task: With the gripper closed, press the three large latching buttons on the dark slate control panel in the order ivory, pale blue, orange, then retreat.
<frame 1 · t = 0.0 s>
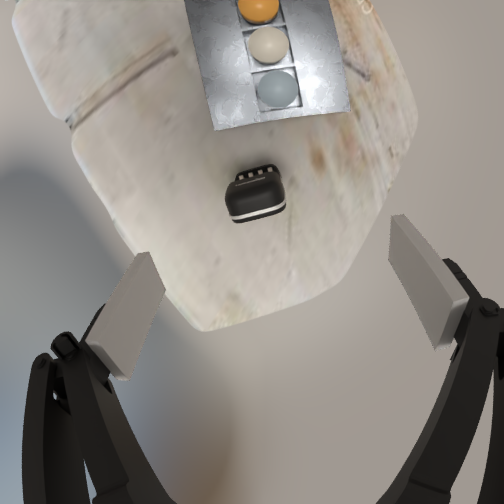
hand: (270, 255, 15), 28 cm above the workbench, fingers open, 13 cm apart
ivory button: (268, 45, 28), point 3 cm above the workbench, slide at 0.0 cm
battery charger: (257, 174, 41), on the workbench
pale blue button: (277, 89, 31), point 3 cm above the workbench, slide at 0.0 cm
orange button: (258, 6, 25), point 3 cm above the workbench, slide at 0.0 cm
panel: (268, 49, 31), on the workbench
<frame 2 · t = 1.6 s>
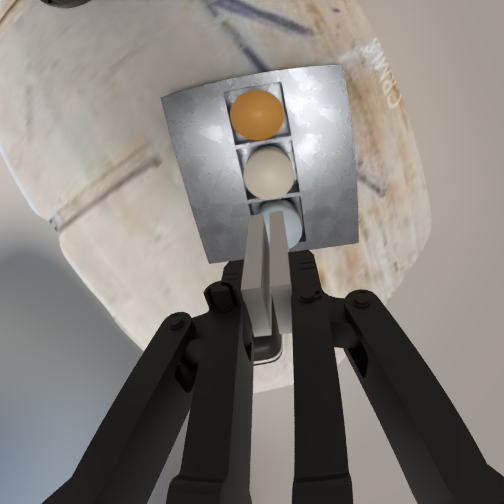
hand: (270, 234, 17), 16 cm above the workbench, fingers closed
ivory button: (268, 172, 28), point 4 cm above the workbench, slide at 0.0 cm
battery charger: (255, 292, 41), on the workbench
pale blue button: (278, 224, 31), point 4 cm above the workbench, slide at 0.0 cm
orange button: (257, 113, 24), point 4 cm above the workbench, slide at 0.0 cm
panel: (268, 163, 31), on the workbench
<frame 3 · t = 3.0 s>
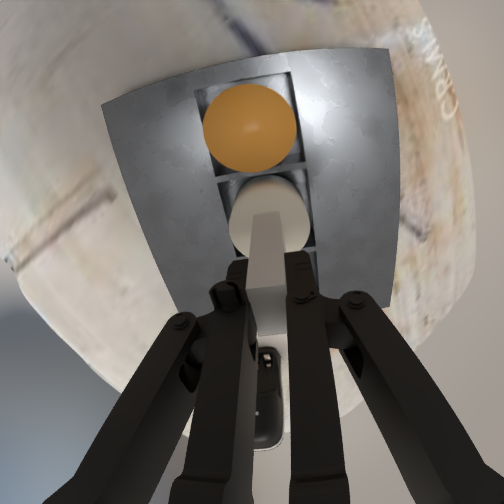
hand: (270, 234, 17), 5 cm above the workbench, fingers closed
ivory button: (269, 218, 18), point 3 cm above the workbench, slide at 0.1 cm, touching gripper
battery charger: (250, 353, 31), on the workbench
orange button: (250, 125, 15), point 4 cm above the workbench, slide at 0.0 cm
panel: (268, 198, 21), on the workbench
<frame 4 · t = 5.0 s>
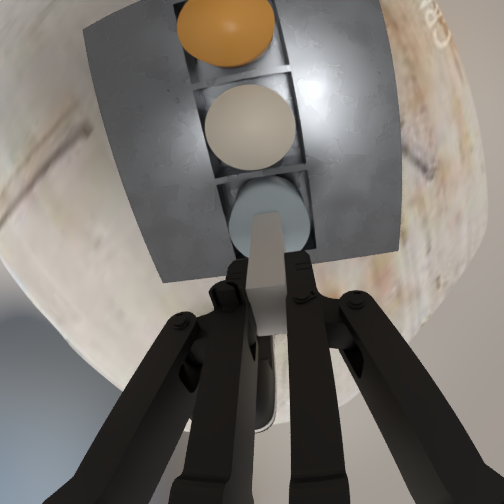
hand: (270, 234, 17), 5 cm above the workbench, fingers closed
ivory button: (251, 124, 15), point 3 cm above the workbench, slide at 0.8 cm
battery charger: (238, 320, 28), on the workbench
pale blue button: (269, 218, 18), point 3 cm above the workbench, slide at 0.4 cm, touching gripper
orange button: (228, 27, 11), point 4 cm above the workbench, slide at 0.0 cm
panel: (253, 119, 18), on the workbench
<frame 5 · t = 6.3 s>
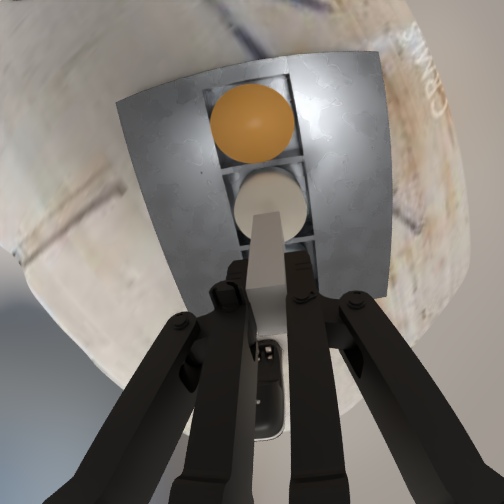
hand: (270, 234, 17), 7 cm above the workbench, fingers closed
ivory button: (270, 204, 20), point 3 cm above the workbench, slide at 0.8 cm
battery charger: (252, 346, 32), on the workbench
pale blue button: (282, 273, 23), point 3 cm above the workbench, slide at 0.8 cm
orange button: (253, 121, 16), point 4 cm above the workbench, slide at 0.0 cm
panel: (270, 191, 22), on the workbench
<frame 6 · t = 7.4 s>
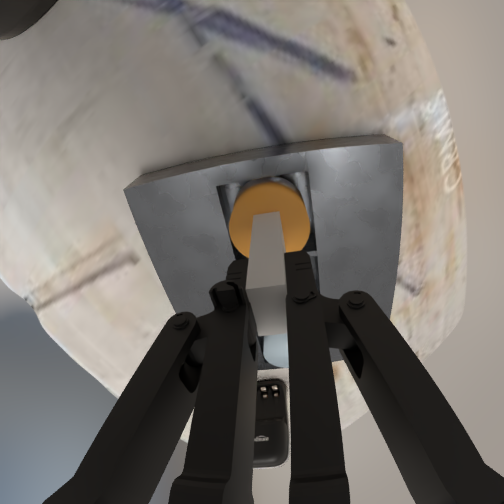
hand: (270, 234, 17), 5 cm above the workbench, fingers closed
battery charger: (259, 383, 34), on the workbench
pale blue button: (290, 339, 24), point 3 cm above the workbench, slide at 0.8 cm
orange button: (269, 218, 18), point 3 cm above the workbench, slide at 0.6 cm, touching gripper
panel: (281, 268, 24), on the workbench
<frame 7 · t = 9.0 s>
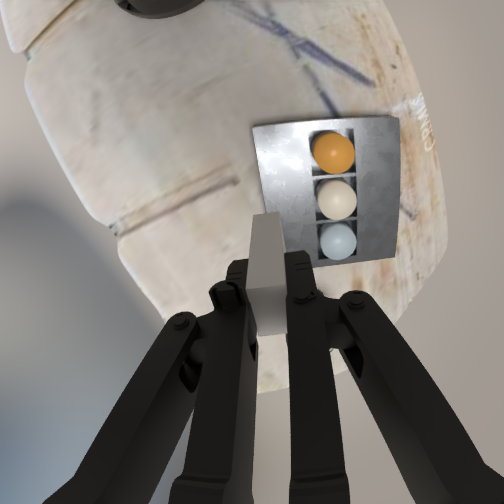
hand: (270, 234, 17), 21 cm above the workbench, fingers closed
ivory button: (335, 197, 35), point 3 cm above the workbench, slide at 0.8 cm
pale blue button: (337, 239, 38), point 3 cm above the workbench, slide at 0.8 cm
orange button: (332, 151, 32), point 3 cm above the workbench, slide at 0.8 cm
panel: (331, 190, 37), on the workbench
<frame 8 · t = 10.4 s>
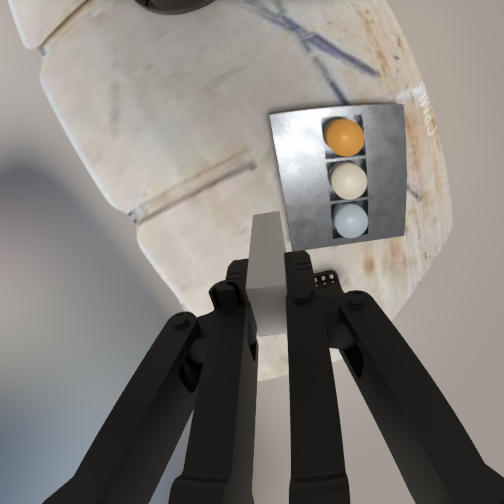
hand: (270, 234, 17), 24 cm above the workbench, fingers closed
ivory button: (347, 179, 36), point 3 cm above the workbench, slide at 0.8 cm
battery charger: (318, 277, 49), on the workbench
pale blue button: (349, 218, 39), point 3 cm above the workbench, slide at 0.8 cm
orange button: (343, 136, 33), point 3 cm above the workbench, slide at 0.8 cm
panel: (342, 173, 38), on the workbench
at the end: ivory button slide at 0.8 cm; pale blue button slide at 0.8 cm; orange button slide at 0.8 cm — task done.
